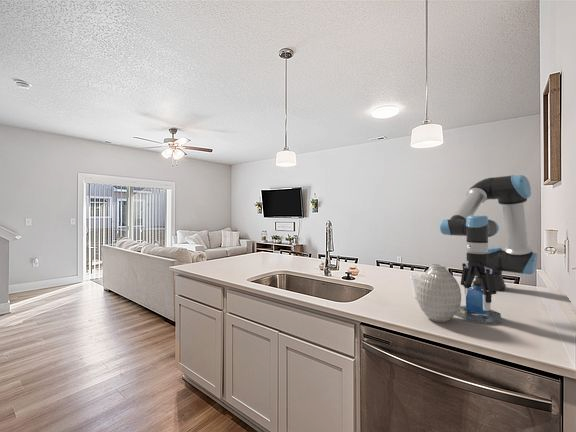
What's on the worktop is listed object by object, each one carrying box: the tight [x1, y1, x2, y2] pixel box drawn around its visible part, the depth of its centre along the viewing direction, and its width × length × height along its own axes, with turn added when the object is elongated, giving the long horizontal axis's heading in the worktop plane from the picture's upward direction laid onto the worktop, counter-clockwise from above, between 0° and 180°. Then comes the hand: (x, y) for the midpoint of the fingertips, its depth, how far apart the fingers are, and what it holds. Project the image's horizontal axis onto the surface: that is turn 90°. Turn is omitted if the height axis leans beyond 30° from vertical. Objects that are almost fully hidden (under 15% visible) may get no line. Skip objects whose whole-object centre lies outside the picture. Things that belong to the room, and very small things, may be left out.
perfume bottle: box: [465, 280, 489, 316], centre depth 117 cm, size 6×6×12 cm
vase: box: [416, 263, 462, 323], centre depth 114 cm, size 16×16×22 cm
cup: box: [409, 274, 422, 300], centre depth 142 cm, size 10×10×11 cm
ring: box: [454, 305, 502, 325], centre depth 117 cm, size 16×16×3 cm
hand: (477, 306), depth 117 cm, fingers closed on perfume bottle, 8 cm apart
